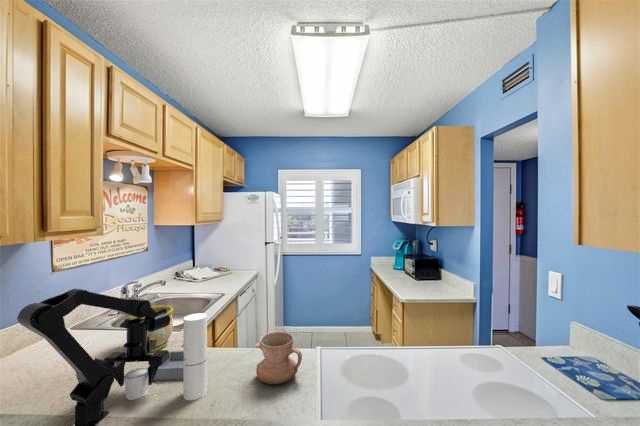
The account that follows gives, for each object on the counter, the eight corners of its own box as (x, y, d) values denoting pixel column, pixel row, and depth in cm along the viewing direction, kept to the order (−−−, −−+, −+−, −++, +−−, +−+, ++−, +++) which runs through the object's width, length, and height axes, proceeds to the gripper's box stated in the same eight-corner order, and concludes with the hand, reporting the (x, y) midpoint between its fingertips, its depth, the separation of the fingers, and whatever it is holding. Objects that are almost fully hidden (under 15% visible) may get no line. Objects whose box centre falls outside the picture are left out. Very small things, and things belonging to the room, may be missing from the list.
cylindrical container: (200, 384, 96) (200, 311, 97) (211, 392, 91) (211, 316, 92) (179, 394, 90) (179, 317, 91) (189, 403, 86) (189, 322, 87)
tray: (190, 378, 100) (190, 367, 100) (150, 380, 99) (150, 369, 99) (204, 359, 114) (204, 349, 114) (169, 361, 113) (169, 351, 113)
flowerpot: (178, 347, 126) (178, 310, 127) (131, 361, 113) (132, 320, 114) (166, 336, 139) (166, 303, 139) (123, 347, 126) (123, 311, 127)
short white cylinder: (136, 402, 87) (136, 379, 87) (118, 399, 88) (118, 377, 89) (153, 389, 94) (154, 368, 94) (136, 387, 95) (137, 366, 95)
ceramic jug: (245, 384, 95) (245, 343, 96) (265, 363, 109) (265, 327, 109) (293, 394, 90) (293, 350, 90) (308, 371, 104) (308, 333, 104)
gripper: (177, 327, 100) (176, 370, 100) (123, 329, 99) (123, 373, 99) (161, 340, 89) (160, 389, 88) (101, 342, 88) (100, 392, 87)
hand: (136, 385), depth 91 cm, fingers open, 9 cm apart
